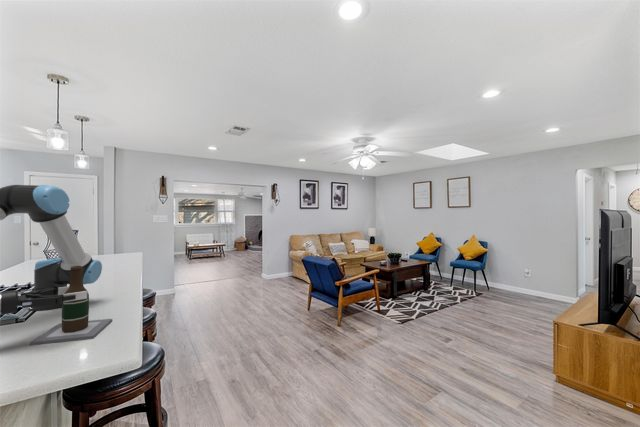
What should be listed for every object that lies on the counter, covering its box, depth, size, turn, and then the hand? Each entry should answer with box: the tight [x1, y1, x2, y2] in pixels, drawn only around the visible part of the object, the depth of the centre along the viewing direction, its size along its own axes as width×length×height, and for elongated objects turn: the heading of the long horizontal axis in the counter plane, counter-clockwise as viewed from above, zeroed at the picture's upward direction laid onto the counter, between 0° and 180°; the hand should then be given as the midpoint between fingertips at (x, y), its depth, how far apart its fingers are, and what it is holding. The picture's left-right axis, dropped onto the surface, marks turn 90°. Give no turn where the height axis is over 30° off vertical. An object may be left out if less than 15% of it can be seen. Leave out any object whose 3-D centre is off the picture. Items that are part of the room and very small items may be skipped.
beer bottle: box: [61, 266, 90, 333], centre depth 106 cm, size 8×8×24 cm
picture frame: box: [28, 318, 113, 346], centre depth 106 cm, size 18×18×1 cm
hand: (83, 291), depth 107 cm, fingers open, 13 cm apart
